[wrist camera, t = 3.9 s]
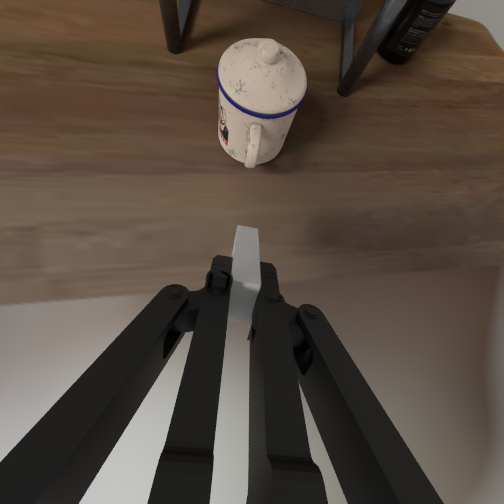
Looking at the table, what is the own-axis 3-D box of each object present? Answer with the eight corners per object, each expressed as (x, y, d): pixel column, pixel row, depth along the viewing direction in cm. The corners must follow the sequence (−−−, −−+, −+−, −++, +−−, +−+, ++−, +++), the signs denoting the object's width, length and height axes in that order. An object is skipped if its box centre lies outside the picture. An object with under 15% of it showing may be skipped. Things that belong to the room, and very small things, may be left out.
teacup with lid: (221, 102, 33) (223, -5, 22) (286, 115, 34) (320, 19, 23) (209, 181, 30) (205, 104, 19) (280, 192, 31) (317, 126, 20)
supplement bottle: (417, 51, 41) (496, -50, 30) (399, 72, 39) (475, -27, 28) (385, 27, 41) (451, -83, 30) (365, 47, 40) (427, -62, 28)
